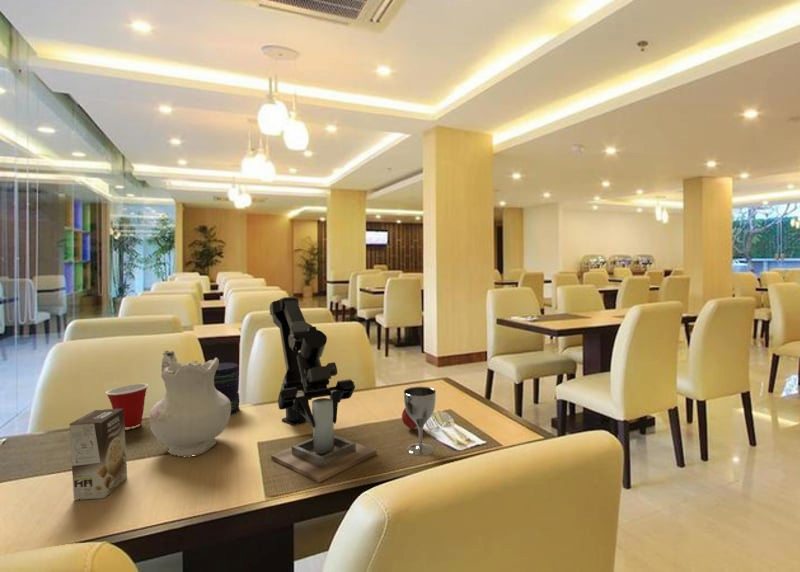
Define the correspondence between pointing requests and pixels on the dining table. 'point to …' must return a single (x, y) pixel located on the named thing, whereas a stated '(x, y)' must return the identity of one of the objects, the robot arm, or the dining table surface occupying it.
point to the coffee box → (98, 453)
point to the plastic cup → (129, 402)
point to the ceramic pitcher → (189, 407)
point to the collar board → (323, 458)
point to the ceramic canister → (323, 425)
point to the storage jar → (228, 383)
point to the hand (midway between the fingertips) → (324, 424)
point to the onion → (408, 420)
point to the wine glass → (420, 414)
